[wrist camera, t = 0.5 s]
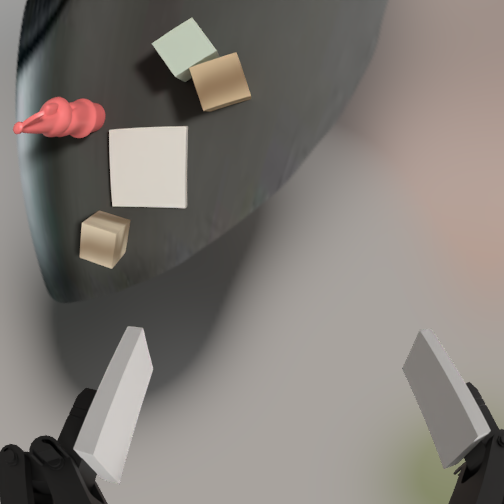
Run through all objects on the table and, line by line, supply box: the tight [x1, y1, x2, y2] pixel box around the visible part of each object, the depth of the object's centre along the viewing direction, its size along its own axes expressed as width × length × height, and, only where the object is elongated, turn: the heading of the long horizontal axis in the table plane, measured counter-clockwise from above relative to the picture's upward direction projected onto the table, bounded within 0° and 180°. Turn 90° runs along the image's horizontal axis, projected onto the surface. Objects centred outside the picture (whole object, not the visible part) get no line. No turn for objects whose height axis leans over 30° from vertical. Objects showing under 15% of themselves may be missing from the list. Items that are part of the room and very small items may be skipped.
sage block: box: [152, 18, 220, 82], centre depth 27 cm, size 5×5×5 cm
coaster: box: [109, 126, 188, 208], centre depth 34 cm, size 10×10×1 cm
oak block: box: [189, 53, 251, 112], centre depth 29 cm, size 5×5×5 cm
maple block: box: [80, 211, 130, 269], centre depth 36 cm, size 5×5×5 cm
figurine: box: [13, 97, 105, 138], centre depth 25 cm, size 5×5×15 cm
